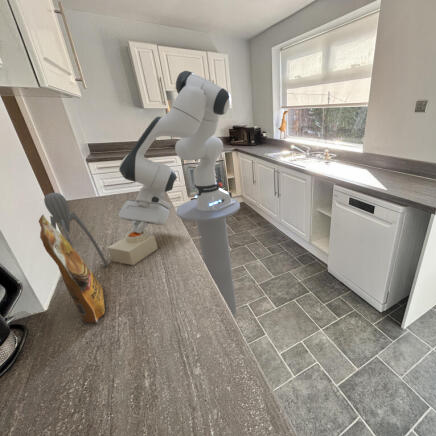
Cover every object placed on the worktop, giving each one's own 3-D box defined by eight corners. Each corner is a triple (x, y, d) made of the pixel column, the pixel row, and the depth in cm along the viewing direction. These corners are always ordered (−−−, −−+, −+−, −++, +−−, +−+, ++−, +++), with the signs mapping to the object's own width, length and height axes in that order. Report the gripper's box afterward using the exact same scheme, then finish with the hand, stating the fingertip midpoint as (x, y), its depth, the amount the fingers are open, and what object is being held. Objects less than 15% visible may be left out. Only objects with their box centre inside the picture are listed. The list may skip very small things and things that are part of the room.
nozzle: (137, 235, 97) (135, 230, 96) (146, 236, 96) (144, 231, 95) (127, 240, 93) (126, 235, 92) (137, 241, 92) (135, 237, 91)
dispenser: (138, 244, 101) (133, 228, 98) (158, 248, 99) (153, 231, 95) (112, 261, 91) (105, 242, 87) (133, 265, 88) (127, 246, 85)
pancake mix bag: (75, 335, 61) (24, 240, 49) (77, 293, 75) (38, 211, 63) (107, 322, 65) (67, 231, 53) (104, 284, 78) (71, 205, 67)
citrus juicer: (107, 265, 88) (77, 187, 76) (108, 279, 81) (75, 195, 68) (67, 276, 82) (27, 193, 69) (64, 293, 75) (19, 203, 62)
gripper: (122, 195, 97) (107, 226, 93) (164, 199, 92) (151, 233, 88) (134, 201, 103) (121, 231, 98) (175, 206, 98) (163, 238, 94)
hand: (135, 232), depth 93 cm, fingers closed, pressing on nozzle
